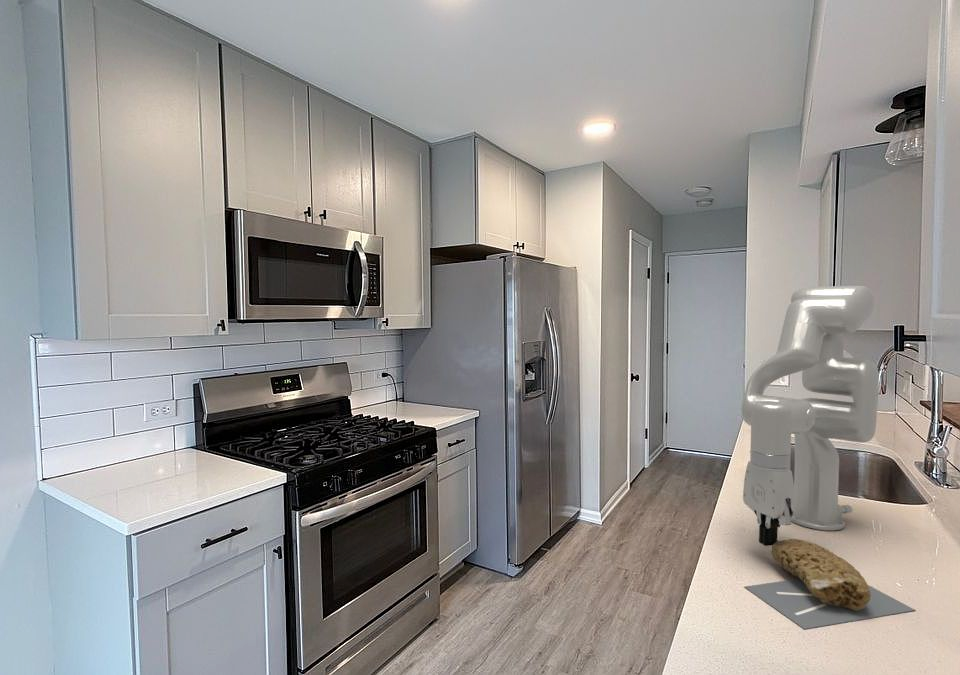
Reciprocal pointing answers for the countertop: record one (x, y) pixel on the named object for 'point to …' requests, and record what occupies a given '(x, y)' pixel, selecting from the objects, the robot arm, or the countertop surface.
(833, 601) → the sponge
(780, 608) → the mat
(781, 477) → the robot arm
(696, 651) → the countertop surface
